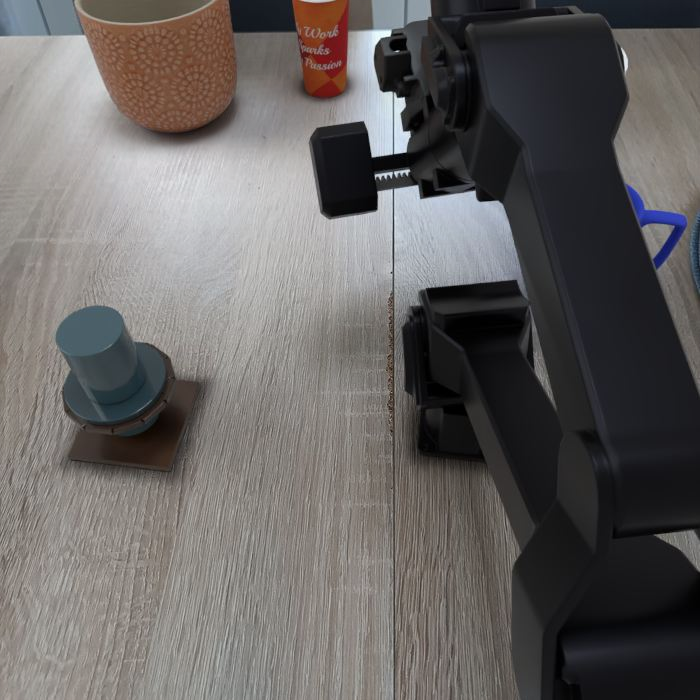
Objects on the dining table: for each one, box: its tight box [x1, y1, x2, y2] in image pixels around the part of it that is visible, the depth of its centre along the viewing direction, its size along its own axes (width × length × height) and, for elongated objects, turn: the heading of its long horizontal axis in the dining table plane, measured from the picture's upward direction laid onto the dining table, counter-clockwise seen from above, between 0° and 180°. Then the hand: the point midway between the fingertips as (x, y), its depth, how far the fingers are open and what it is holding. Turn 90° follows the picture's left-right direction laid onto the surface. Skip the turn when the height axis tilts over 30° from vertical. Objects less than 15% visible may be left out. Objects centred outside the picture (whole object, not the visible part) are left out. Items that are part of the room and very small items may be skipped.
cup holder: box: [61, 341, 201, 472], centre depth 54 cm, size 9×9×6 cm
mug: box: [626, 183, 688, 271], centre depth 61 cm, size 8×12×10 cm
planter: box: [73, 0, 238, 134], centre depth 80 cm, size 17×17×15 cm
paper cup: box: [291, 0, 350, 99], centre depth 84 cm, size 8×8×14 cm
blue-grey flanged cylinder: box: [54, 304, 167, 436], centre depth 50 cm, size 8×8×10 cm
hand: (416, 176), depth 56 cm, fingers open, 9 cm apart
